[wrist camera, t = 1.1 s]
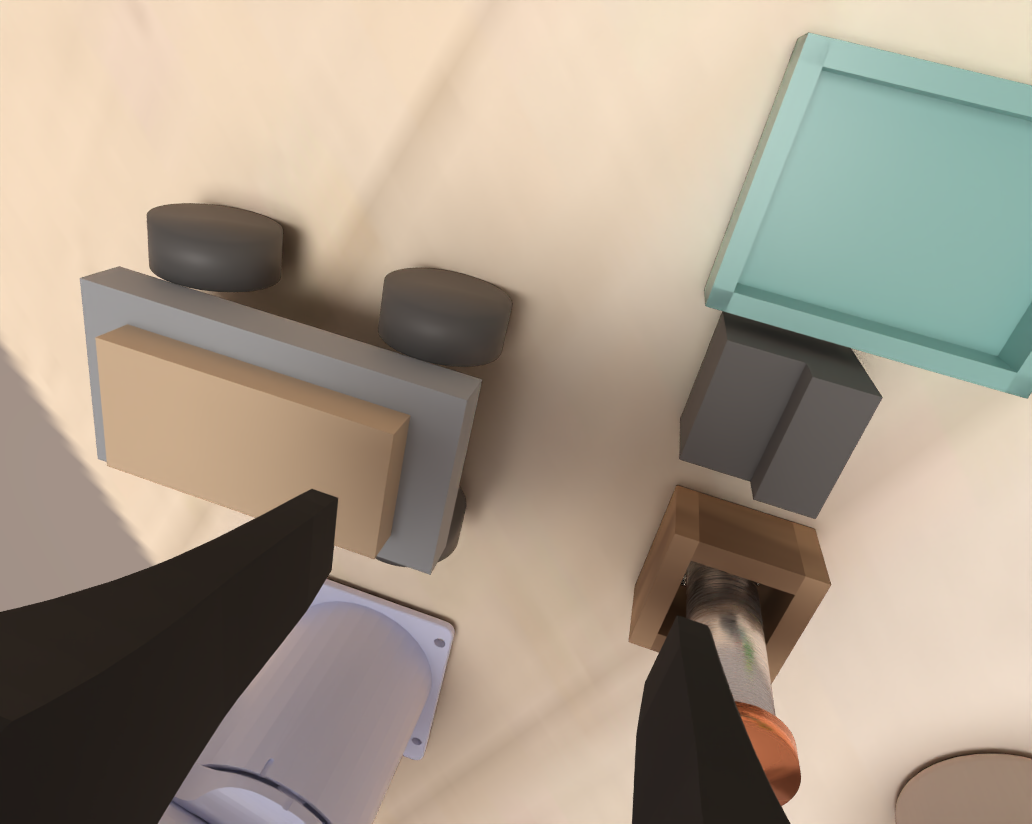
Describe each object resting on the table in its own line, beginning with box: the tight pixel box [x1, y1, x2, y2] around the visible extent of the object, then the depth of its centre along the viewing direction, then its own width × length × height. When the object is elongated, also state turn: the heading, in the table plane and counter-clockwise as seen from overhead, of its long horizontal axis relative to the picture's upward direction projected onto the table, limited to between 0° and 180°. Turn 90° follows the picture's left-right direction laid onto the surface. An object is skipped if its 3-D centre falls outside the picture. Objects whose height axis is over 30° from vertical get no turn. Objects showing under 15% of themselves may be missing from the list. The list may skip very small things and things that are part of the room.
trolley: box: [80, 203, 512, 575], centre depth 22 cm, size 12×10×7 cm
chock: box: [679, 311, 883, 519], centre depth 20 cm, size 4×4×4 cm
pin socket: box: [629, 485, 831, 684], centre depth 23 cm, size 5×5×3 cm
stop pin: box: [686, 561, 801, 806], centre depth 21 cm, size 3×3×9 cm
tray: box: [704, 33, 1032, 398], centre depth 18 cm, size 7×9×2 cm
